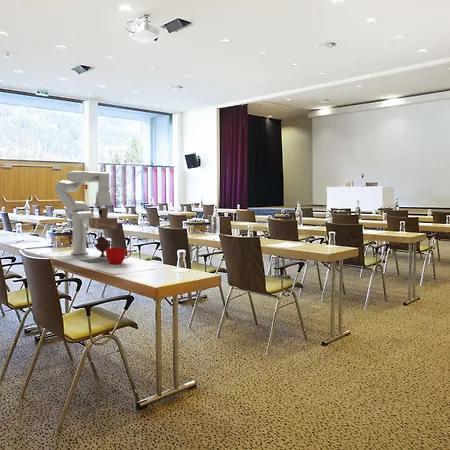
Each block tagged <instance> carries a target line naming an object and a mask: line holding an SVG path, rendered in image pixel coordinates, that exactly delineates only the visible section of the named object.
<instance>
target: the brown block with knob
mask: <svg viewBox="0 0 450 450" xmlns="http://www.w3.org/2000/svg"><path fill="white" fill-rule="evenodd" d="M101 209H102V215H99V214H98V216H94V217H89V224H88V228H89V229H94V230H115V229H116V230H117V229H118V217H112V216H108V215H107V208H105V207H102V208H101Z"/></svg>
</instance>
